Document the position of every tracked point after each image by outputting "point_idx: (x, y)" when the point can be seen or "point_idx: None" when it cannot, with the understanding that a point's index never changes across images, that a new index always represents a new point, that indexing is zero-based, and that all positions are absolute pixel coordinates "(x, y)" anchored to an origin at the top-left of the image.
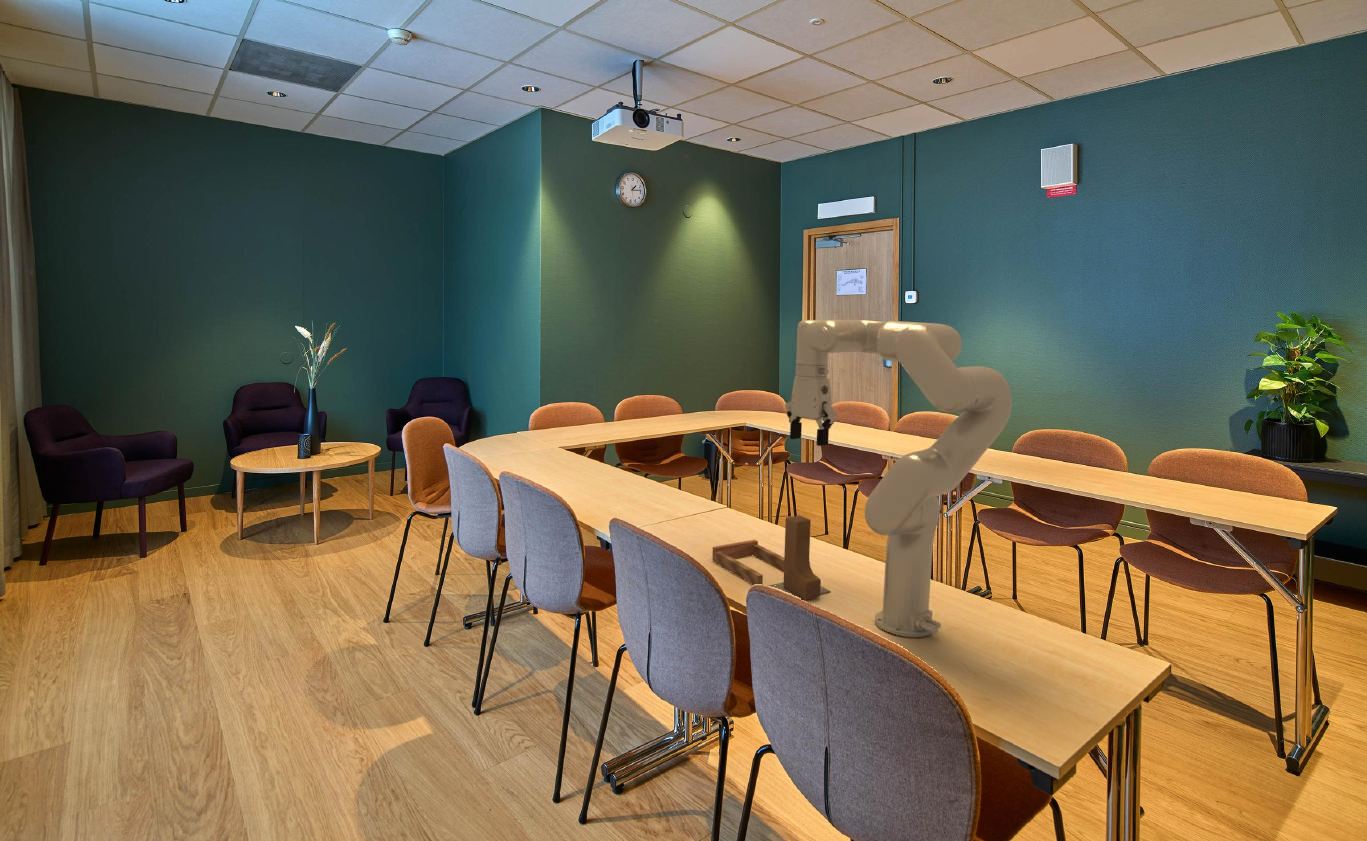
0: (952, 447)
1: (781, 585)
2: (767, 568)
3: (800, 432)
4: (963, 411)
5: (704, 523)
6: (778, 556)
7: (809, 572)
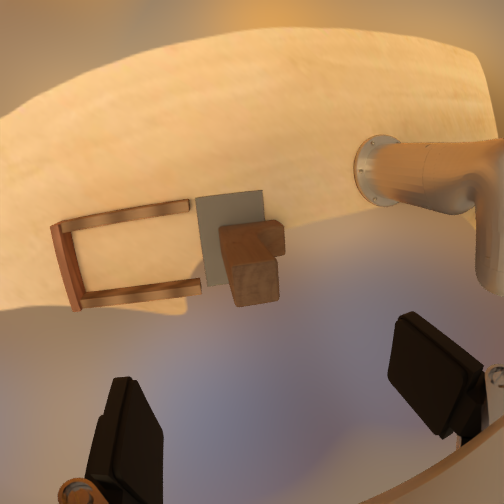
0: None
1: (212, 252)
2: (129, 233)
3: (134, 415)
4: None
5: None
6: (125, 216)
7: (264, 237)
